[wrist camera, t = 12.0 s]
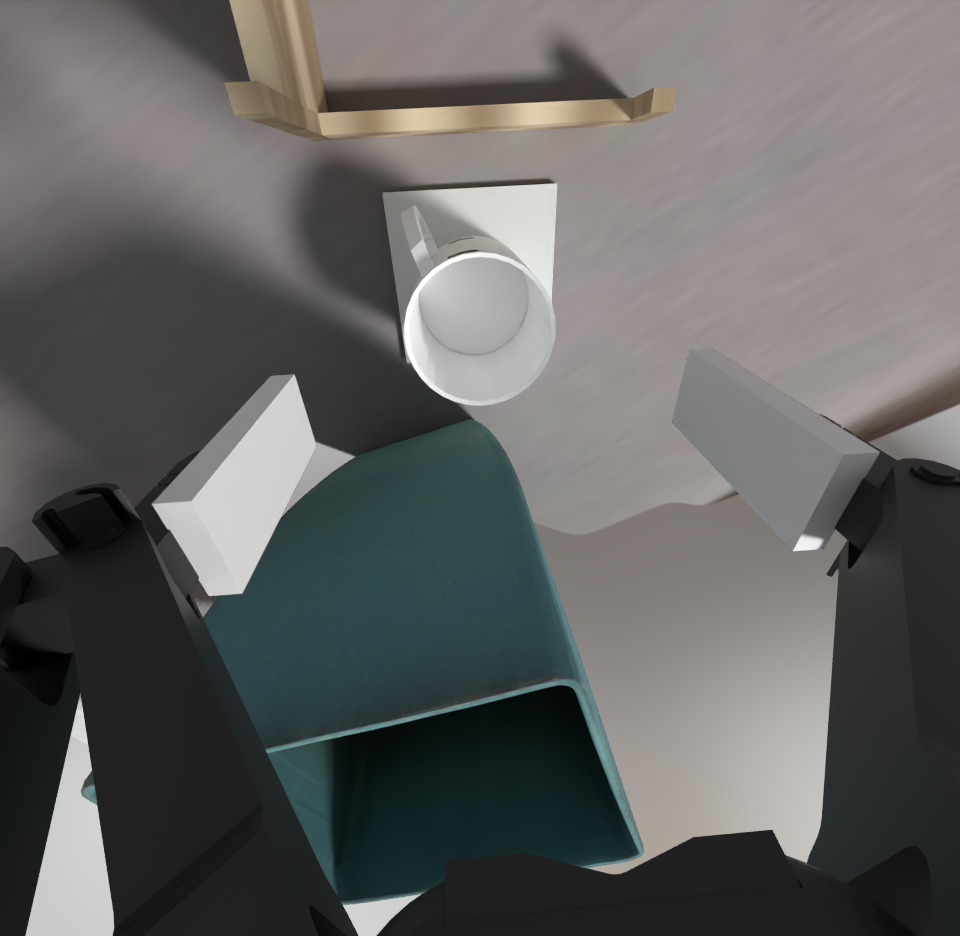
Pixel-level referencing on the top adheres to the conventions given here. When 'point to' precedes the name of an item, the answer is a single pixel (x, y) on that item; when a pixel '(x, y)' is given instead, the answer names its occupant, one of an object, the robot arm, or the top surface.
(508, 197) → the felt mat
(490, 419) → the top surface
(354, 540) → the flower pot
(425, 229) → the mug
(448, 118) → the frame
